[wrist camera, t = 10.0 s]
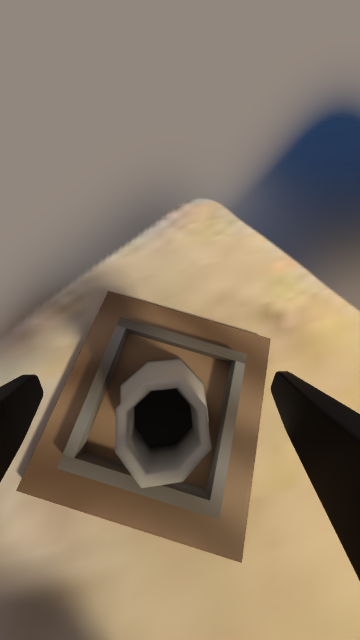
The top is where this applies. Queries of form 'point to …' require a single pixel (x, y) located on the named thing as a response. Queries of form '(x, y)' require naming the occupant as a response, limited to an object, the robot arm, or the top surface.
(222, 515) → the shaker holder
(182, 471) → the flask
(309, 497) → the top surface
